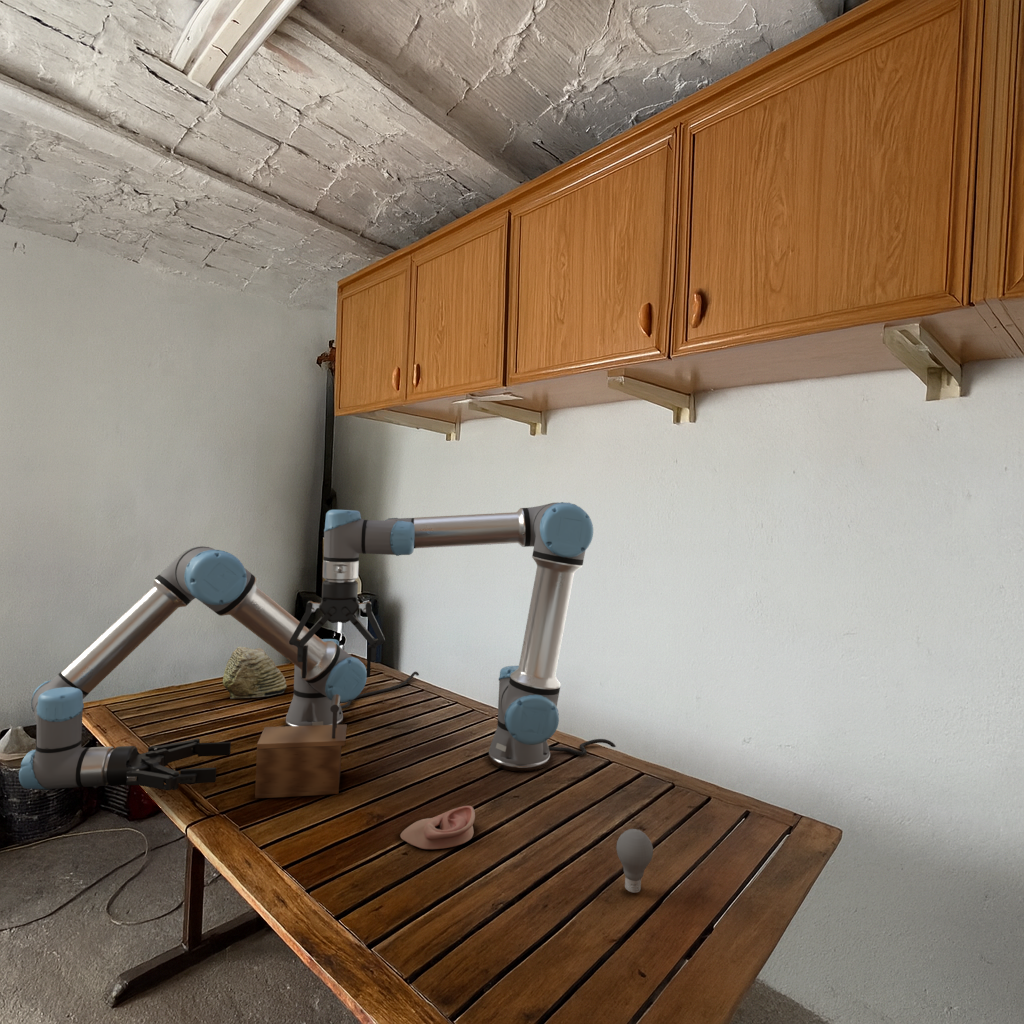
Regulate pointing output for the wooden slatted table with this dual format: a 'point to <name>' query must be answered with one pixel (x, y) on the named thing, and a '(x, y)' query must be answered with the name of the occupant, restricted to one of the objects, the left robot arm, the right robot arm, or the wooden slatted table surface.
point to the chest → (297, 771)
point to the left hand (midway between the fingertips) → (223, 761)
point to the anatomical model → (442, 829)
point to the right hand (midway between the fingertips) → (336, 676)
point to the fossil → (252, 674)
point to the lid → (305, 733)
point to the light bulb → (634, 857)
